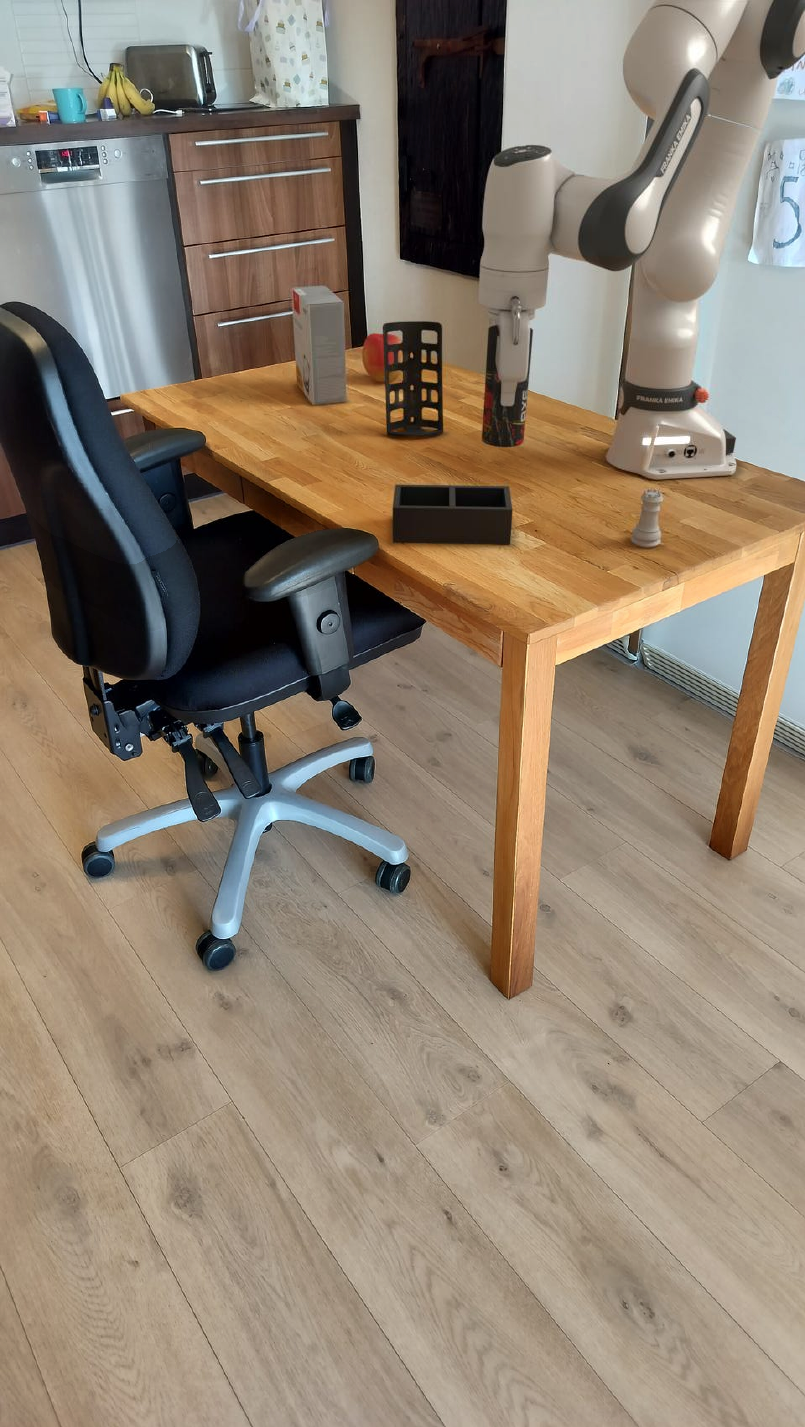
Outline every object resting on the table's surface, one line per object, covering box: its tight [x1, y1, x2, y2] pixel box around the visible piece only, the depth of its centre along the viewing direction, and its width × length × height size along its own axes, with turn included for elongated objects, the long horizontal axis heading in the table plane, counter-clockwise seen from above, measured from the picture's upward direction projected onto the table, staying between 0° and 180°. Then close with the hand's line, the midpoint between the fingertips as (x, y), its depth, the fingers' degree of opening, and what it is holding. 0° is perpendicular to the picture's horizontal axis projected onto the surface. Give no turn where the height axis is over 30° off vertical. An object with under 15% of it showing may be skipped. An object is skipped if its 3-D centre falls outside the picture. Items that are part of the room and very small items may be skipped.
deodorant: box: [481, 325, 534, 448], centre depth 136 cm, size 6×6×15 cm
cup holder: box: [392, 483, 514, 546], centre depth 150 cm, size 9×18×6 cm, turn 88°
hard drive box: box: [290, 285, 348, 406], centre depth 205 cm, size 16×8×20 cm, turn 17°
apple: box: [361, 332, 403, 384], centre depth 215 cm, size 10×10×10 cm
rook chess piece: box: [630, 488, 664, 549], centre depth 146 cm, size 4×4×8 cm
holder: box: [382, 320, 444, 438], centre depth 185 cm, size 11×8×20 cm
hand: (505, 396), depth 137 cm, fingers closed on deodorant, 6 cm apart
